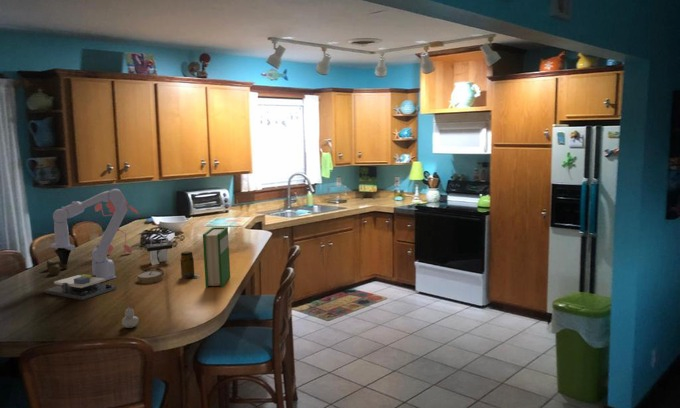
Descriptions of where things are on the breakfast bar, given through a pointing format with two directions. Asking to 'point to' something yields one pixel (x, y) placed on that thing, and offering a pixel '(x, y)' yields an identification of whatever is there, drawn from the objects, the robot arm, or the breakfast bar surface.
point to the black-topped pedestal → (158, 251)
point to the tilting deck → (71, 281)
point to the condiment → (187, 266)
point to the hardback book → (216, 256)
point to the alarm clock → (150, 275)
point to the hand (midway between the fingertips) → (64, 264)
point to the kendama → (55, 267)
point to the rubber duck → (129, 318)
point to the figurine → (112, 209)
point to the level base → (80, 290)
